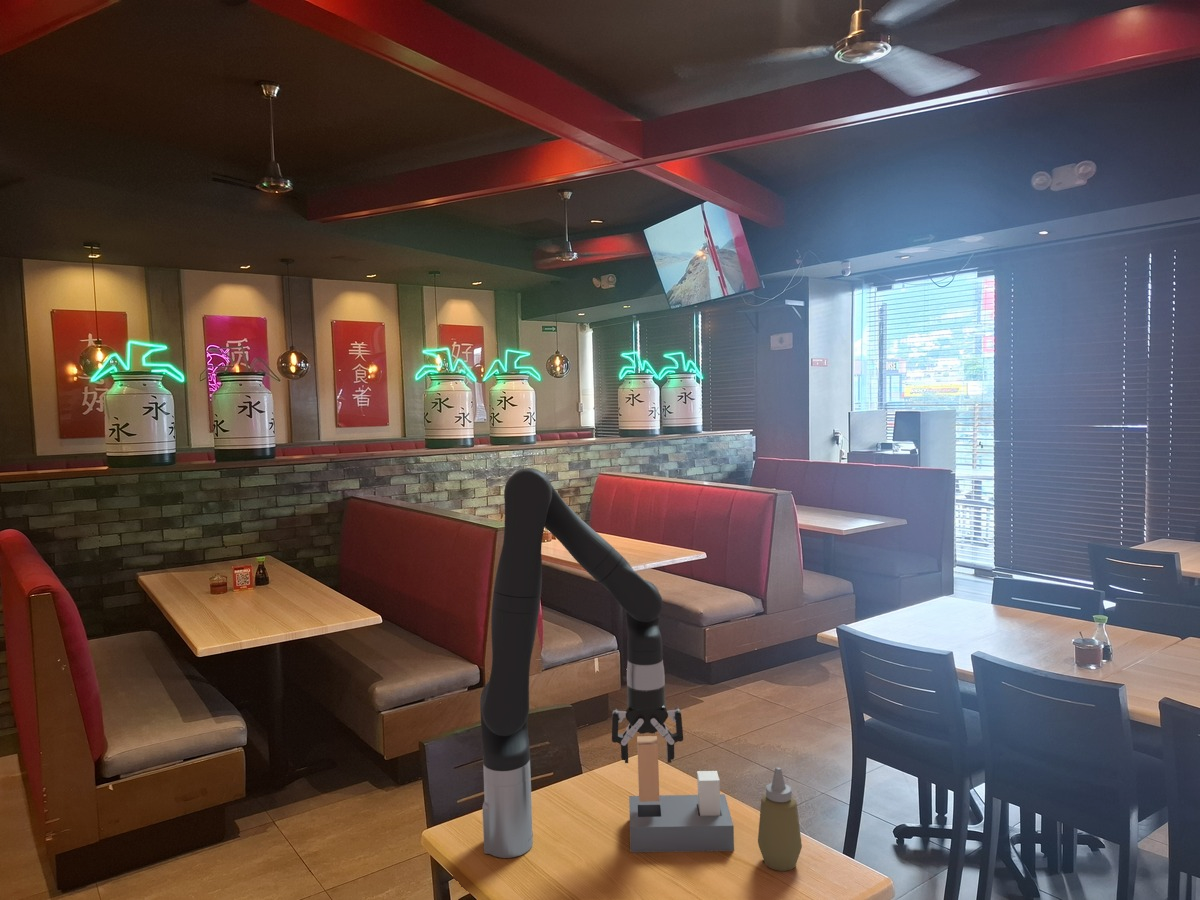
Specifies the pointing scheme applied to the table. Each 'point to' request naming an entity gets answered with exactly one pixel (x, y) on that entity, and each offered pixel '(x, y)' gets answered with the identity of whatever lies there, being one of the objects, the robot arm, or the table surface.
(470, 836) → the table surface
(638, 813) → the block
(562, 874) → the table surface
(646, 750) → the terracotta plug
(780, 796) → the squeeze bottle
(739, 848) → the table surface
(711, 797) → the offwhite plug
